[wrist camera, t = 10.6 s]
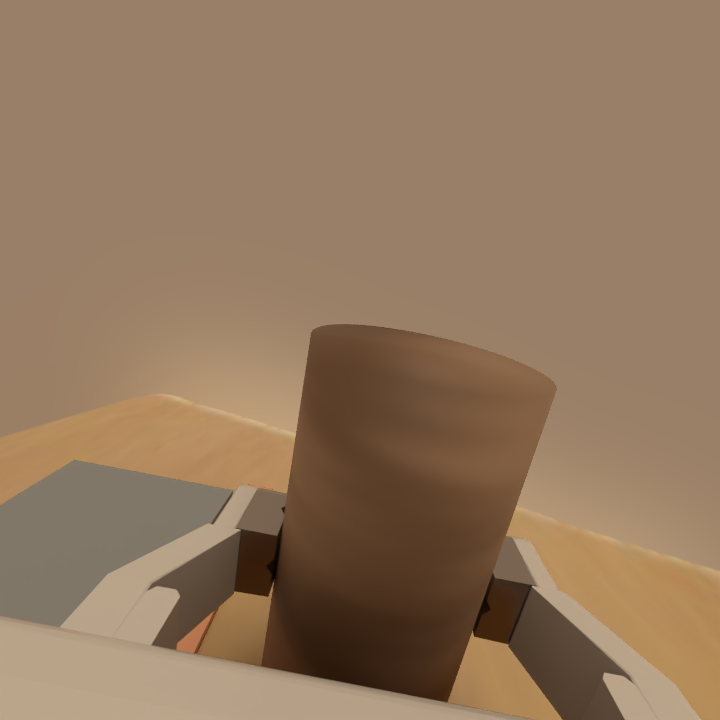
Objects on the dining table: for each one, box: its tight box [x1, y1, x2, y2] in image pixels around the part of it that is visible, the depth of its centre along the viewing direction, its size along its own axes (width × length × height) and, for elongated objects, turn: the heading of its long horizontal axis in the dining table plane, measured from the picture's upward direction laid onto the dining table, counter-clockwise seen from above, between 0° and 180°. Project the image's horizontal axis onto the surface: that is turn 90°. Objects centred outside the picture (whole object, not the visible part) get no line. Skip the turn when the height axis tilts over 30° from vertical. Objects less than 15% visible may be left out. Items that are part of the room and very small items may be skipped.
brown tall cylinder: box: [262, 324, 557, 702], centre depth 9 cm, size 5×5×12 cm
